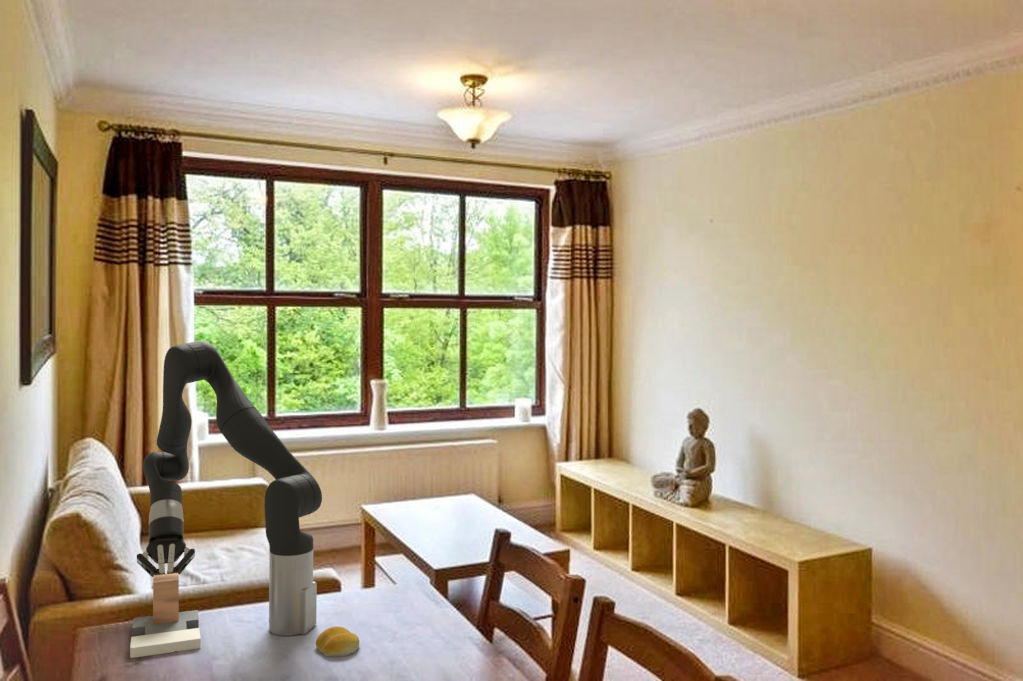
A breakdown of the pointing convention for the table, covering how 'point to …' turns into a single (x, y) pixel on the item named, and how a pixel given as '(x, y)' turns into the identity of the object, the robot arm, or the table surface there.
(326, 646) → the bread roll
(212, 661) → the table surface
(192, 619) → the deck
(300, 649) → the table surface
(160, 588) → the block
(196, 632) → the pad
